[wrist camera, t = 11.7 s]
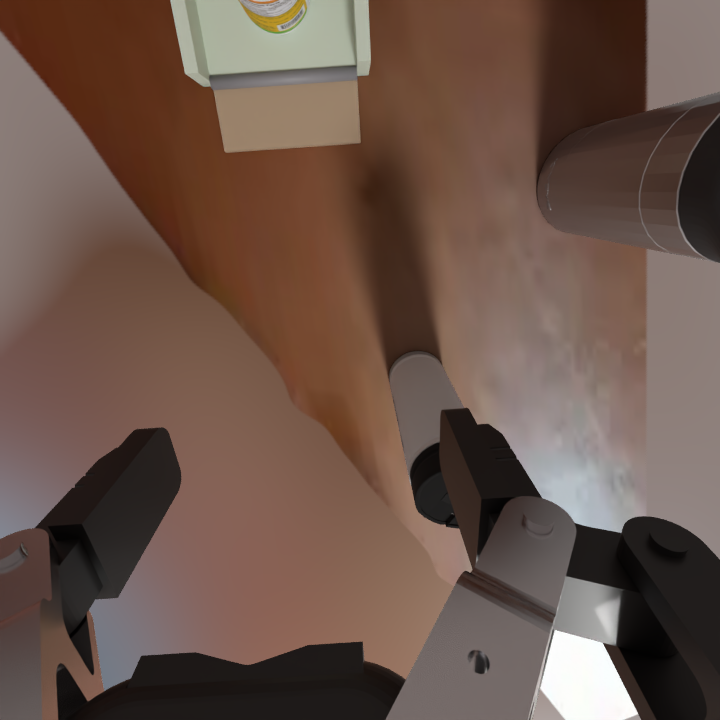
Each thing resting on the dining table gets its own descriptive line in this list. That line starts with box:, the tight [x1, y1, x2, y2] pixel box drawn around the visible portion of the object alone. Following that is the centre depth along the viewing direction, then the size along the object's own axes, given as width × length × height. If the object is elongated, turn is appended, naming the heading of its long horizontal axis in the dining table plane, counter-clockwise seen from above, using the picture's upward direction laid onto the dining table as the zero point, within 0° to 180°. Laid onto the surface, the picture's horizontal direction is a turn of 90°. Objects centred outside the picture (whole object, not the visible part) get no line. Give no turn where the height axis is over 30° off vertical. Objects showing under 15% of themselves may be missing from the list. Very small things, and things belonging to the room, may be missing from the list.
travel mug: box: [389, 351, 464, 528], centre depth 35 cm, size 6×7×20 cm
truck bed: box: [170, 0, 371, 153], centre depth 29 cm, size 14×17×4 cm
